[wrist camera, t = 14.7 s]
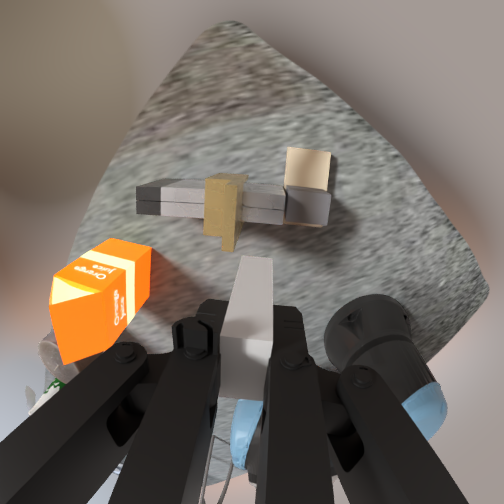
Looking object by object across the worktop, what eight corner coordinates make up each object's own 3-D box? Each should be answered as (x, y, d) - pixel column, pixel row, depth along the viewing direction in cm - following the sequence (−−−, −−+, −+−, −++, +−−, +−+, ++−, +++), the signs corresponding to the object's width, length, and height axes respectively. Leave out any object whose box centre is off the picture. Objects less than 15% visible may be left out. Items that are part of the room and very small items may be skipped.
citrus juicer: (212, 434, 56) (191, 539, 28) (246, 447, 58) (236, 547, 30) (193, 448, 60) (171, 538, 32) (224, 459, 61) (210, 547, 33)
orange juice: (152, 247, 40) (76, 317, 21) (150, 296, 43) (90, 379, 24) (109, 237, 40) (24, 294, 21) (110, 285, 43) (41, 354, 24)
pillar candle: (118, 347, 48) (84, 398, 34) (80, 336, 48) (43, 380, 34) (111, 306, 45) (68, 356, 31) (71, 296, 45) (26, 337, 31)
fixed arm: (280, 196, 37) (283, 210, 28) (279, 207, 37) (282, 225, 28) (165, 189, 37) (136, 200, 28) (165, 199, 38) (136, 213, 29)
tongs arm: (281, 185, 36) (285, 195, 27) (280, 196, 36) (284, 210, 28) (165, 178, 36) (136, 186, 28) (164, 189, 37) (136, 200, 28)
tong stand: (328, 152, 34) (340, 152, 28) (319, 224, 37) (329, 238, 31) (287, 147, 34) (291, 145, 28) (280, 220, 38) (282, 234, 32)
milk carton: (88, 398, 57) (57, 451, 38) (62, 382, 56) (28, 430, 37) (88, 381, 54) (52, 438, 35) (60, 364, 53) (20, 415, 34)
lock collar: (248, 174, 32) (237, 185, 21) (245, 219, 34) (233, 252, 23) (219, 173, 32) (194, 182, 22) (217, 217, 34) (193, 248, 24)
